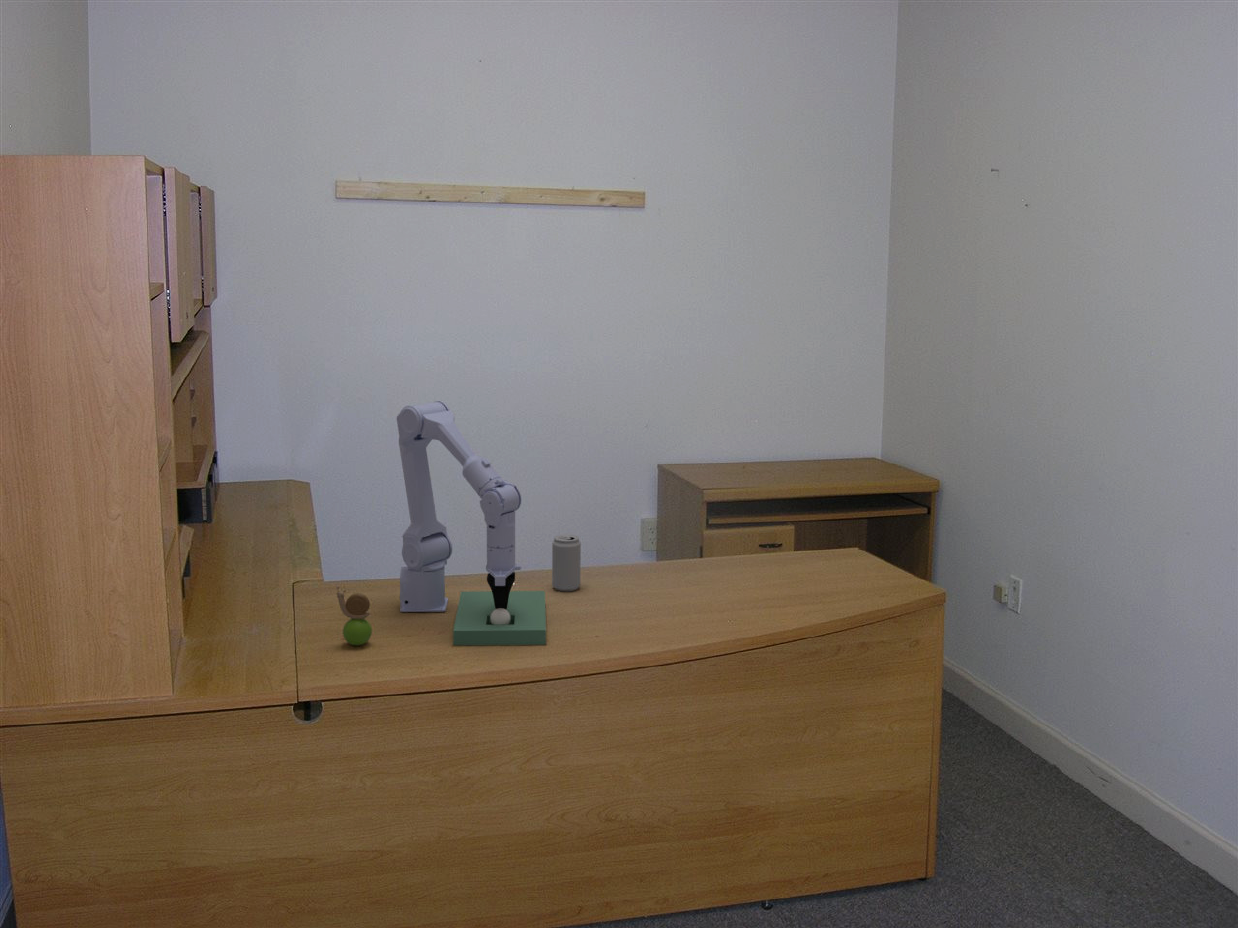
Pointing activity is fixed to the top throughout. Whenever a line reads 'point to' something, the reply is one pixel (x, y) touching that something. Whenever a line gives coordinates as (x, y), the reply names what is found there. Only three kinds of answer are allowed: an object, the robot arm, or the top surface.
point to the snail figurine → (355, 618)
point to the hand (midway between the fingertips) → (501, 608)
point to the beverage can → (566, 562)
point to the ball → (500, 617)
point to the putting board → (521, 629)
